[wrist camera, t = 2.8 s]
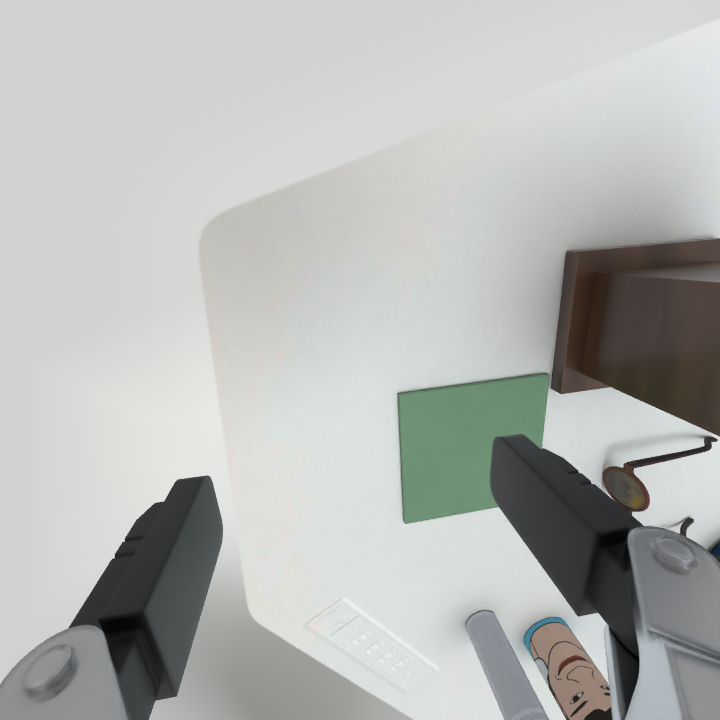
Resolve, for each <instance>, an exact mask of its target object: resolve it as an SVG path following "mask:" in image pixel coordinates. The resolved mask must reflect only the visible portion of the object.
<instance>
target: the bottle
mask: <svg viewBox="0 0 720 720" xmlns="http://www.w3.org/2000/svg"><path fill="white" fill-rule="evenodd" d="M466 629H467V632H468V634H469V637H470V639H471V641H472V644H473V646H474V648H475V651H476V653H477V656H478V658H479V660H480V663H481V665H482V667H483V670H484V672H485V674H486V677H487V679H488V682H489V684H490V686H491V689H492V691H493V693H494V696H495V698H496V701H497V703H498V705H499V708H500V710H501V712H502V715H503V717H504V720H549V718H548V717H547V715H546V713H545V711H544V709H543V707H542V705H541V703H540V701H539V699H538V697H537V695H536V693H535V691H534V689H533V687H532V686H531V684H530V682H529V680H528V678H527V676H526V674H525V672H524V670H523V668H522V666H521V664H520V662H519V660H518V658H517V656H516V655H515V653H514V651H513V649H512V647H511V645H510V643H509V641H508V639H507V637H506V635H505V633H504V631H503V629H502V627H501V625H500V624H499V622H498V620H497V618H496V616H495V614H494V613H492V612H490V611H481V612H478V613H476V614H474V615H473V616H471V617H470V618H469V620H468V621H467V624H466Z"/></svg>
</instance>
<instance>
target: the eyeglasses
mask: <svg viewBox="0 0 720 720" xmlns="http://www.w3.org/2000/svg"><path fill="white" fill-rule="evenodd" d="M717 440H718V439H716V438H713V437H707V438H705V439H704V444H705V446H703V447H700V448H696V449H691V450H687V451H682V452H677V453H672V454H666V455H661V456H656V457H651V458H645V459H640V460H635V461H631V462H627V463H625V464H624V467H623V468H621V467H615V466H613V467H609V468H607V469H606V470H605V471H604V474H603V481H604V485H605V488H606V490H607V491H608V493H609V494H610V496H611V497H612V498H613V499H614V501H615V502H616V503H617V504H618V505H620V506H621V507H622V508H623V509H624V510H625V511H627V512H628V513H629V514H630V515H631V516H632V512H640V511H644V510H646V509H647V508H648V506H649V503H650V498H649V494H648V491H647V489H646V487H645V486H644V484H643V483H642V482H641V481H640V480H639V479H638V478H637V477H636V476H635V475H634V472H633V471H634V468H637V467H642V466H646V465H651V464H655V463H660V462H664V461H669V460H673V459H677V458H681V457H686V456H690V455H694V454H698V453H702V452H706V451H708V450H710V449H711V447H712V444H711V442H717ZM693 522H694V520H693V519H692V518H688V519H687V520H686V521H684V522H683V524H682V525H681V528H680V534H681V535H683V536H685V537H686V530H687V528H688V527H689V526H690V525H691V524H692V523H693Z"/></svg>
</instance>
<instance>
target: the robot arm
mask: <svg viewBox="0 0 720 720" xmlns="http://www.w3.org/2000/svg"><path fill="white" fill-rule="evenodd" d="M490 488H491V492H492V495H493V498H494V500H495V502H496V503H497V505H498V506H499V508H500V509H501V510H502V512H503V513H504V515H505V516H506V517H507V519H508V520H509V522H510V523H511V524H512V526H513V527H514V528H515V530H516V531H517V533H518V534H519V535H520V537H521V538H522V540H523V541H524V542H525V544H526V545H527V546H528V548H529V549H530V551H531V552H532V553H533V555H534V556H535V558H536V559H537V560H538V562H539V563H540V564H541V566H542V567H543V569H544V570H545V571H546V573H547V574H548V576H549V577H550V578H551V580H552V581H553V582H554V584H555V585H556V587H557V588H558V589H559V591H560V592H561V594H562V595H563V596H564V598H565V599H566V600H567V602H568V603H569V605H570V606H571V607H572V609H573V610H574V612H575V613H576V614H577V616H583V615H588V614H593V613H599V614H600V615H601V617H602V618H603V619H604V621H605V622H606V624H605V628H604V639H605V649H606V659H607V669H608V679H609V689H610V699H611V709H612V719H613V720H720V556H719V555H712V554H711V553H710V552H708V551H707V550H706V549H705V548H703V547H702V546H700V545H699V544H697V543H696V542H694V541H692V540H691V539H689V538H687V537H685V536H683V535H681V534H678V533H676V532H673V531H670V530H667V529H664V528H659V527H653V526H643V525H642V524H641V523H640V522H639V521H637V520H636V519H635V518H634V517H633V516H631V515H630V514H629V513H628V512H627V511H625V510H624V509H623V508H622V507H621V506H620V505H618V504H617V503H616V502H615V501H614V500H612V499H611V498H610V497H609V496H608V495H606V494H605V493H604V492H603V491H602V490H601V489H599V488H598V487H597V486H596V485H595V484H591V481H590V480H589V479H587V478H586V477H585V476H584V475H583V474H582V473H579V472H578V470H577V469H576V468H574V467H573V466H572V465H571V464H570V463H568V462H567V461H566V460H565V459H564V458H562V457H560V456H558V455H556V454H554V453H552V452H550V451H548V450H546V449H544V448H543V449H540V448H539V447H538V446H537V445H536V444H534V443H533V442H532V441H531V440H530V439H529V438H528V437H527V436H525V435H524V434H514V435H507V436H500V437H495V438H494V440H493V444H492V457H491V470H490ZM222 537H223V525H222V519H221V514H220V511H219V506H218V502H217V498H216V494H215V490H214V487H213V482H212V480H211V478H210V476H200V477H193V478H186V479H179V480H177V481H176V482H175V483H174V485H173V487H172V489H171V490H170V492H169V494H168V496H167V498H166V499H165V501H164V502H158V503H155V504H154V505H152V506H151V507H150V508H149V509H148V510H147V511H146V512H145V513H144V514H143V515H141V516H140V517H139V518H138V519H137V520H136V522H135V523H134V525H133V527H132V528H131V530H130V532H129V533H128V535H127V536H126V538H125V542H122V544H121V546H120V547H119V549H118V550H117V552H116V554H115V558H114V559H112V560H111V561H110V563H109V565H108V566H107V568H106V569H105V571H104V573H103V574H102V576H101V577H100V579H99V581H98V582H97V584H96V585H95V587H94V589H93V590H92V592H91V593H90V595H89V597H88V598H87V600H86V601H85V603H84V604H83V606H82V608H81V609H80V611H79V612H78V614H77V615H76V617H75V619H74V620H73V622H72V623H71V625H70V626H69V628H68V629H66V630H64V631H62V632H60V633H57V634H56V635H54V636H52V637H50V638H49V639H47V640H45V641H44V642H43V643H41V644H40V645H38V646H37V647H36V648H34V649H33V650H32V651H31V652H29V653H28V654H27V655H26V656H25V657H24V658H23V659H21V660H20V661H19V662H18V663H17V665H16V666H15V667H14V668H13V669H12V670H11V671H10V672H9V674H8V675H7V676H6V677H5V678H4V680H3V681H2V683H1V684H0V720H149V717H150V714H151V711H152V708H153V705H154V702H155V701H156V700H161V699H165V698H171V697H175V696H177V694H178V690H179V687H180V684H181V680H182V677H183V674H184V670H185V667H186V663H187V660H188V656H189V653H190V650H191V646H192V643H193V639H194V636H195V633H196V629H197V626H198V622H199V619H200V616H201V612H202V609H203V606H204V601H205V599H206V596H207V592H208V589H209V585H210V582H211V578H212V575H213V572H214V568H215V565H216V562H217V558H218V555H219V551H220V548H221V544H222Z"/></svg>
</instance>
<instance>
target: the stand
mask: <svg viewBox="0 0 720 720" xmlns="http://www.w3.org/2000/svg"><path fill="white" fill-rule="evenodd" d="M607 387H612V388H614V389H616V390H619V391H621V392H623V393H625V394H627V395H630V396H632V397H634V398H636V399H638V400H641V401H643V402H645V403H647V404H649V405H652V406H654V407H656V408H658V409H660V410H663V411H665V412H667V413H669V414H671V415H674V416H676V417H678V418H680V419H682V420H685V421H687V422H689V423H691V424H693V425H696V426H698V427H700V428H702V429H704V430H707V431H709V432H711V433H713V434H716V435H718V436H720V238H708V239H697V240H686V241H675V242H664V243H653V244H642V245H631V246H620V247H609V248H598V249H587V250H576V251H567V254H566V263H565V271H564V280H563V289H562V298H561V307H560V315H559V324H558V333H557V342H556V351H555V359H554V368H553V377H552V386H551V389H553V390H554V391H556V392H558V393H560V394H565V393H572V392H579V391H586V390H593V389H600V388H607Z"/></svg>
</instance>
